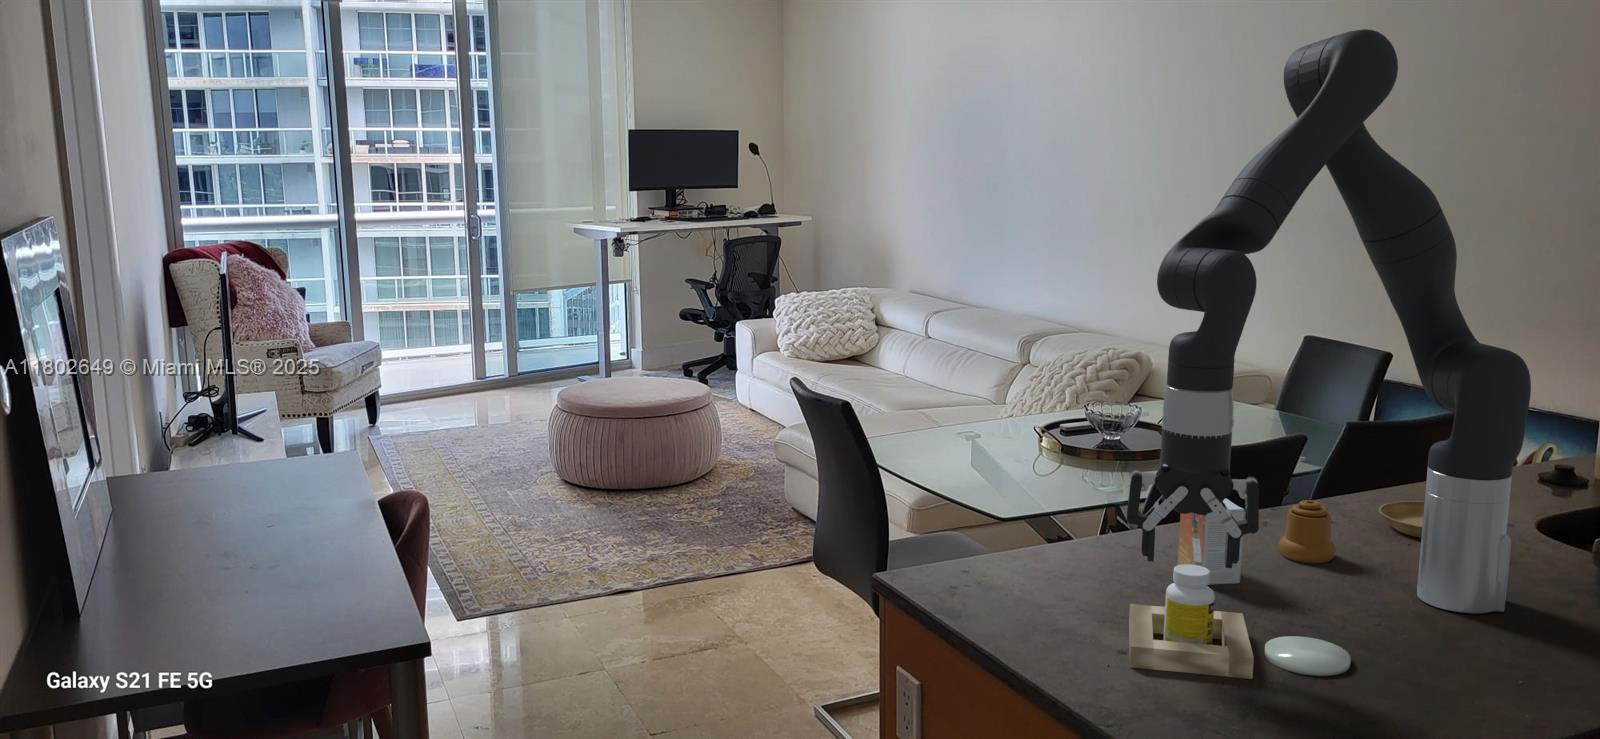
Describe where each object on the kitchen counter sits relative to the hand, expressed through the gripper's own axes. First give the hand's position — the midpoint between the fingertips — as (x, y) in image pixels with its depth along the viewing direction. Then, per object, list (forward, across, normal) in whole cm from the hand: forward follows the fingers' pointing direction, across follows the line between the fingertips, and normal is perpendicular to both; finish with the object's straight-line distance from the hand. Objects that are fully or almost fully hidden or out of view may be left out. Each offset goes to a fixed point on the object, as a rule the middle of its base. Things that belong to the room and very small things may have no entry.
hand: (1188, 562), depth 135 cm
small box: (+11, -4, -26) cm, 29 cm away
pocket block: (+10, 0, 0) cm, 11 cm away
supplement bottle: (+11, 0, 0) cm, 11 cm away
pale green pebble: (+10, -13, 0) cm, 17 cm away
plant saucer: (+10, -38, -55) cm, 67 cm away
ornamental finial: (+10, -18, -38) cm, 43 cm away
